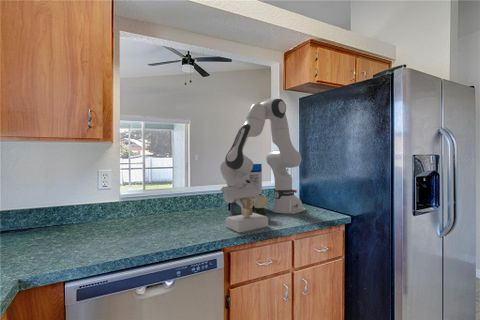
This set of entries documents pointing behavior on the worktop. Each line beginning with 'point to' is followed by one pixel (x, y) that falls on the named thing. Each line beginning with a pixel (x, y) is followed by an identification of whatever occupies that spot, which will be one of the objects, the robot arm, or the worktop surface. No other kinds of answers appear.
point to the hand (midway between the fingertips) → (247, 206)
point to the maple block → (246, 207)
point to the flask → (235, 209)
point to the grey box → (246, 222)
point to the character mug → (260, 204)
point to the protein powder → (254, 179)
